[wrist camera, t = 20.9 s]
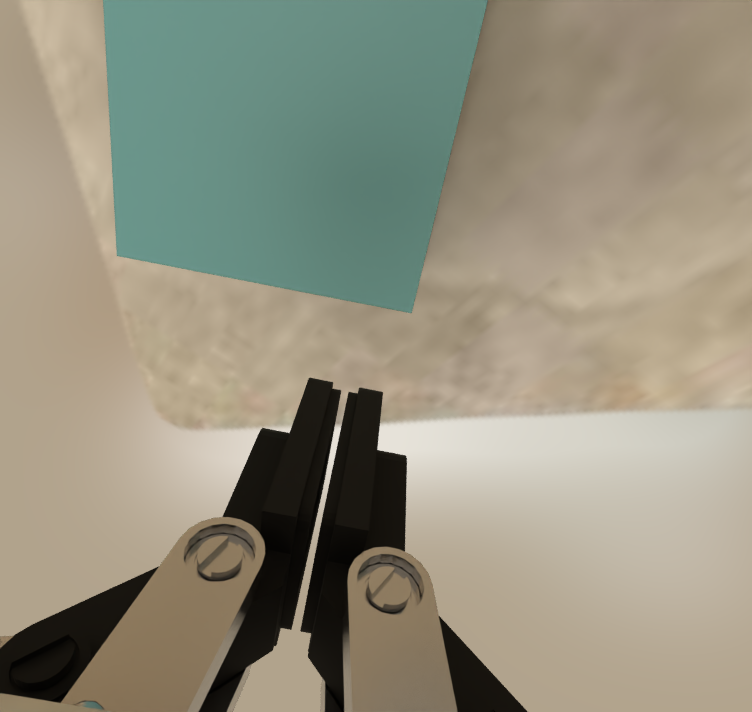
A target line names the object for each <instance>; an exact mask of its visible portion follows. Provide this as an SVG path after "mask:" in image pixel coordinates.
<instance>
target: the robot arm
mask: <svg viewBox="0 0 752 712" xmlns="http://www.w3.org/2000/svg"><path fill="white" fill-rule="evenodd" d="M332 387H333V382H329V381H324V380H319V379H314V378H309V380H308V382H307V385H306V388H305V391H304V394H303V397H302V399H301V402H300V405H299V408H298V411H297V414H296V417H295V419H294V422H293V425H292V428H291V431H290V433H286V432H281V431H276V430H270V429H265V428H262V429H261V431H260V432H259V434H258V437H257V439H256V441H255V444H254V446H253V448H252V450H251V453H250V455H249V457H248V460H247V462H246V464H245V467H244V469H243V471H242V473H241V476H240V478H239V480H238V483H237V485H236V487H235V489H234V492H233V494H232V497H231V499H230V501H229V503H228V506H227V508H226V510H225V513H224V515H223V517H219V518H212V519H208V520H205V521H201V522H199V523H198V524H196V525H194V526H193V527H191V528H189V529H188V530H187V531H186V532H185V533H184V534H183V535H182V536H181V537H180V539H179V540H178V541H177V543H176V544H175V545H174V547H173V548H172V550H171V551H170V552H169V554H168V555H167V556H166V558H165V559H164V561H163V562H162V564H161V565H160V566H159V567H157V568H155V569H153V570H150V571H148V572H146V573H144V574H142V575H140V576H137V577H135V578H133V579H131V580H128V581H126V582H124V583H122V584H120V585H118V586H115V587H113V588H111V589H109V590H107V591H104V592H102V593H100V594H98V595H96V596H94V597H91V598H89V599H87V600H85V601H83V602H80V603H78V604H76V605H74V606H72V607H70V608H67V609H65V610H63V611H61V612H59V613H57V614H55V615H52V616H50V617H48V618H46V619H44V620H41V621H39V622H37V623H35V624H33V625H31V626H29V627H27V628H26V629H24V630H22V631H21V632H19V633H17V634H16V635H14V636H2V637H0V712H233V710H234V708H235V706H236V703H237V701H238V699H239V696H240V694H241V691H242V690H243V687H244V685H245V683H246V680H247V678H248V675H249V672H250V668H251V664H253V663H254V662H256V661H257V660H259V659H260V658H262V657H263V656H265V655H266V654H268V653H269V652H271V651H272V650H273V647H274V646H276V645H277V641H278V637H279V632H280V628H285V629H290V630H291V629H292V625H293V620H294V616H295V611H296V607H297V602H298V598H299V593H300V589H301V584H302V580H303V576H304V571H305V567H306V562H307V557H308V553H309V549H310V544H311V540H312V535H313V530H314V526H315V522H316V517H317V513H318V508H319V504H320V499H321V495H322V490H323V485H324V480H325V475H326V469H327V464H328V459H329V454H330V448H331V442H332V437H333V432H334V427H335V421H336V416H337V411H338V405H339V400H340V395H341V390H336V389H332ZM382 396H383V392H380V391H375V390H370V389H364V388H359V391H358V394H357V393H352V392H349V393H348V398H347V403H346V407H345V412H344V417H343V422H342V426H341V432H340V436H339V441H338V446H337V450H336V455H335V460H334V465H333V469H332V474H331V479H330V484H329V488H328V493H327V499H326V503H325V508H324V512H323V517H322V523H321V527H320V532H319V537H318V543H317V548H316V553H315V558H314V564H313V569H312V574H311V579H310V585H309V589H308V595H307V600H306V605H305V610H304V615H303V620H302V626H301V632H307V633H311V638H310V644H309V649H308V652H309V653H308V658H309V659H310V660H311V662H312V663H313V665H314V666H315V668H316V669H317V671H318V672H319V674H320V675H321V677H322V684H321V712H527V711H526V710H525V709H524V708H523V706H522V705H521V704H520V703H519V702H518V701H517V700H516V699H515V698H514V697H513V696H512V694H511V693H510V692H509V691H508V690H507V689H506V688H505V687H504V686H503V685H502V684H501V682H500V681H499V680H498V679H497V678H496V677H495V676H494V675H493V674H492V673H491V672H490V671H489V669H487V667H486V666H485V665H484V664H483V663H482V662H481V661H480V660H479V659H478V658H477V656H476V655H475V654H474V653H473V652H472V651H471V650H470V649H469V648H468V647H467V646H466V645H465V644H464V642H463V641H462V640H461V639H460V638H459V637H458V636H457V635H456V634H455V633H454V632H453V630H451V628H450V627H449V626H448V625H447V624H446V623H445V622H444V621H443V620H442V619H441V617H440V616H439V615H438V610H437V606H436V600H435V595H434V589H433V585H432V582H431V579H430V576H429V574H428V572H427V571H426V569H425V568H424V567H423V565H422V564H421V563H420V562H419V561H418V560H416V559H415V558H414V557H413V556H412V555H410V554H408V553H406V552H405V517H406V474H407V458H406V456H405V455H400V454H395V453H389V452H384V451H379V450H377V446H378V436H379V426H380V416H381V406H382Z"/></svg>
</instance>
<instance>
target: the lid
mask: <svg viewBox="0 0 752 712" xmlns="http://www.w3.org/2000/svg"><path fill="white" fill-rule="evenodd" d="M487 2H488V0H103V7H104V25H105V44H106V62H107V81H108V99H109V117H110V136H111V154H112V173H113V191H114V210H115V228H116V247H117V256H120V257H126V258H131V259H136V260H141V261H146V262H151V263H156V264H162V265H167V266H172V267H177V268H182V269H187V270H192V271H197V272H203V273H208V274H213V275H218V276H223V277H228V278H233V279H238V280H244V281H249V282H254V283H259V284H264V285H269V286H274V287H280V288H285V289H290V290H295V291H300V292H305V293H310V294H315V295H321V296H326V297H331V298H336V299H341V300H346V301H351V302H356V303H362V304H367V305H372V306H377V307H382V308H387V309H392V310H397V311H403V312H408V313H412V309H413V305H414V301H415V297H416V293H417V289H418V285H419V281H420V277H421V273H422V268H423V264H424V260H425V256H426V252H427V248H428V244H429V240H430V236H431V232H432V227H433V223H434V219H435V215H436V211H437V207H438V203H439V199H440V195H441V191H442V186H443V182H444V178H445V174H446V170H447V166H448V162H449V158H450V154H451V150H452V145H453V141H454V137H455V133H456V129H457V125H458V121H459V117H460V113H461V109H462V104H463V100H464V96H465V92H466V88H467V84H468V80H469V76H470V72H471V68H472V63H473V59H474V55H475V51H476V47H477V43H478V39H479V35H480V31H481V27H482V22H483V18H484V14H485V10H486V6H487Z"/></svg>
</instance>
